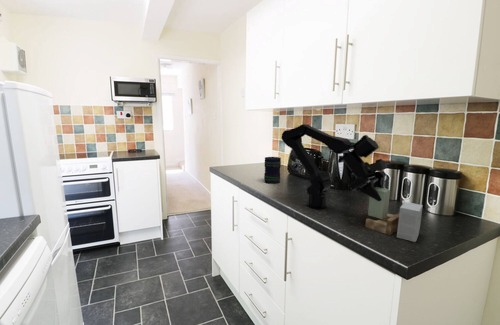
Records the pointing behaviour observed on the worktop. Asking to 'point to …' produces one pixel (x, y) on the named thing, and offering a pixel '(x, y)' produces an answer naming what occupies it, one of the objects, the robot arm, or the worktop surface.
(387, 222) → the wooden stepped block
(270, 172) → the storage jar
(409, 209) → the small box
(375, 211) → the green rectangular block
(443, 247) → the worktop surface
